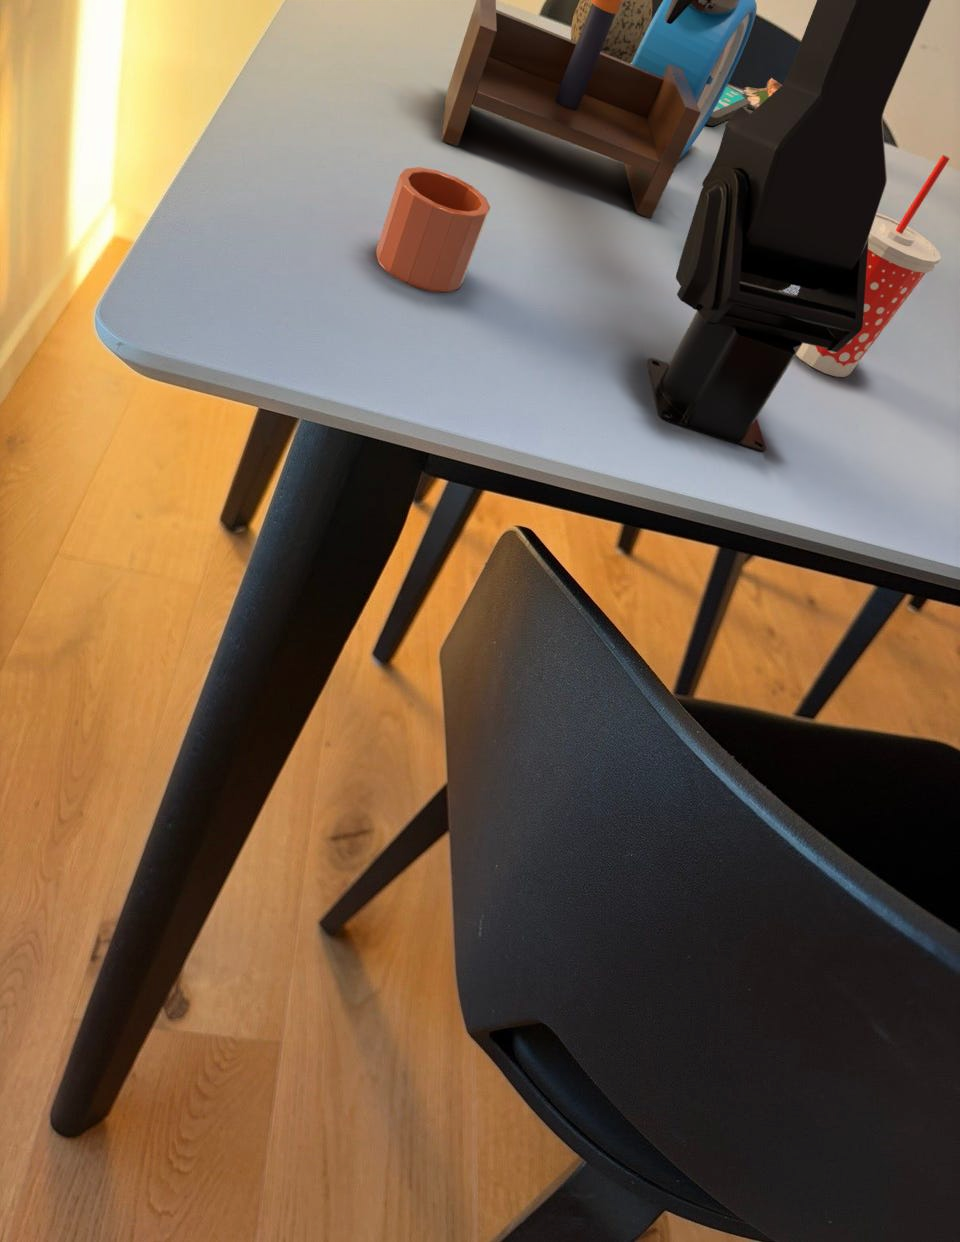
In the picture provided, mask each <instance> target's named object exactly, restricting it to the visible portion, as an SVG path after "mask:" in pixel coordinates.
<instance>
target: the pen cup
mask: <svg viewBox="0 0 960 1242" xmlns="http://www.w3.org/2000/svg"><path fill="white" fill-rule="evenodd" d="M388 207H389V208H388V211H387V214H386V218H385V220H384V223H383V227H382V230H381V234H380V236H379V240H378V243H377V247H376V249H375V253H376V259H377V261H378V263H379V265H380V266H381V267H382V268H383V270H385V271H386V272H387V273H389V274H390V275H391V276H393V277H394V278H396V279H397V280H400V281H401V282H403V283H405V284H408V285H410V286H411V287H414V288H417V289H421V290H423V291H428V292H433V293H450V292H455V291H457V290H458V289H460V288H461V286H462V284H463V282H464V280H465V277H466V274H467V272H468V269H469V266H470V264H471V261H472V260H473V259H472V258H473V256H474V254H475V251H476V248H477V245H478V242H479V240H480V237H481V235H482V232H483V229H484V226H485V223H486V221H487V218H488V215H489V213H490V210H491V206H490V204H489V201H488V199H487V197H485V195H483V193H481V192H480V191H479V190H478V189H476V188H475V187H474V186H473V185H471V184H469V183H467V182H465V181H464V180H462V179H460V178H458V177H457V176H454V175H451V174H449V173H447V172H446V173H445V172H444V171H440V170H438V169H432V168H425V167H420V166H416V167H408V168H405V169H404V170H403V171H402V172H401V173H400V174H399V176H398V178H397V182H396V185H395V188H394V191H393V194H392V197H391V201H390V204H389V206H388Z"/></svg>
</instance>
